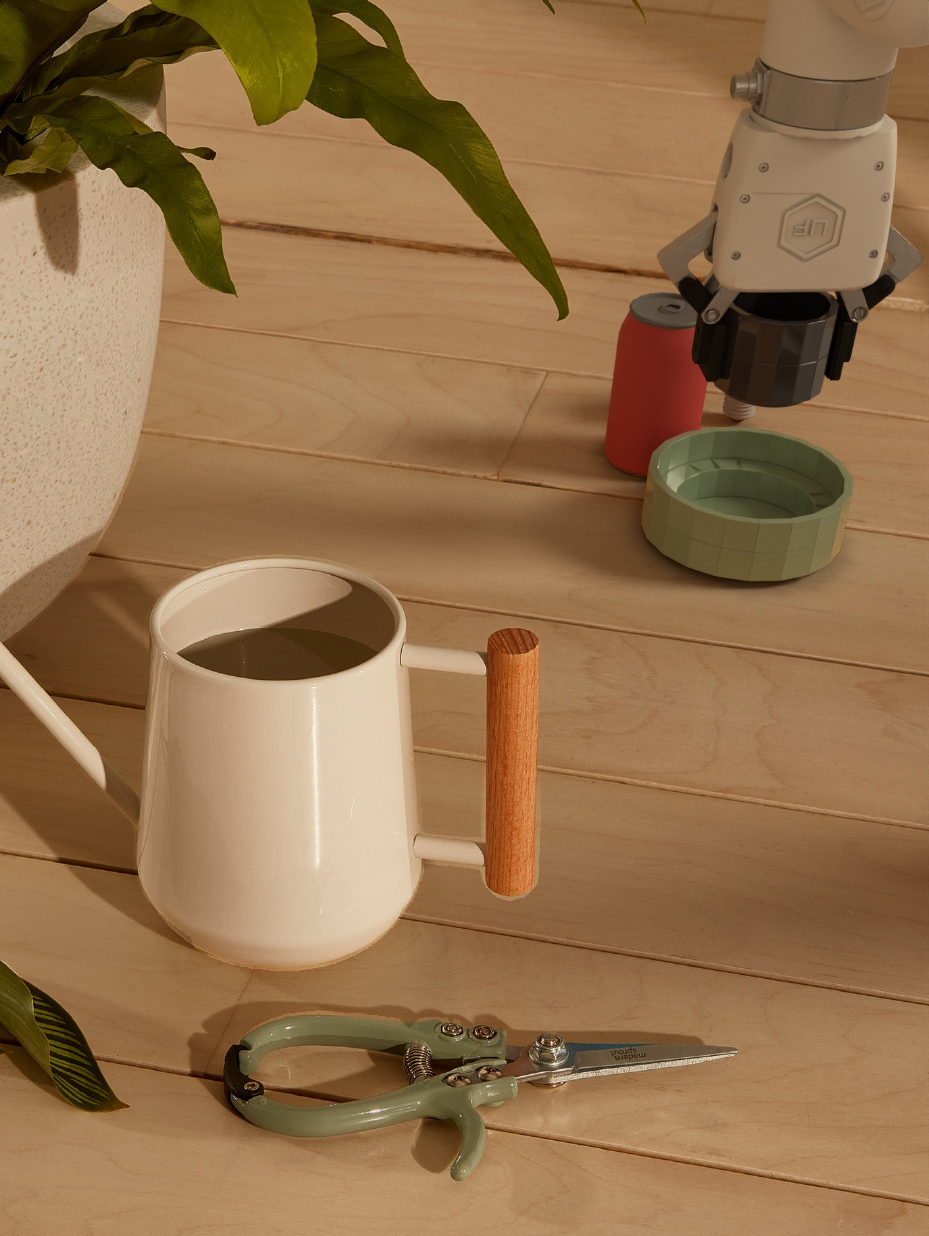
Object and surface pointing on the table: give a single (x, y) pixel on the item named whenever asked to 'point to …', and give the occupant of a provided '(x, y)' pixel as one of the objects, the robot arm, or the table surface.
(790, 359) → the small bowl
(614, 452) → the beer can
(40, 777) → the table surface
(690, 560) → the big bowl
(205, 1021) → the table surface
